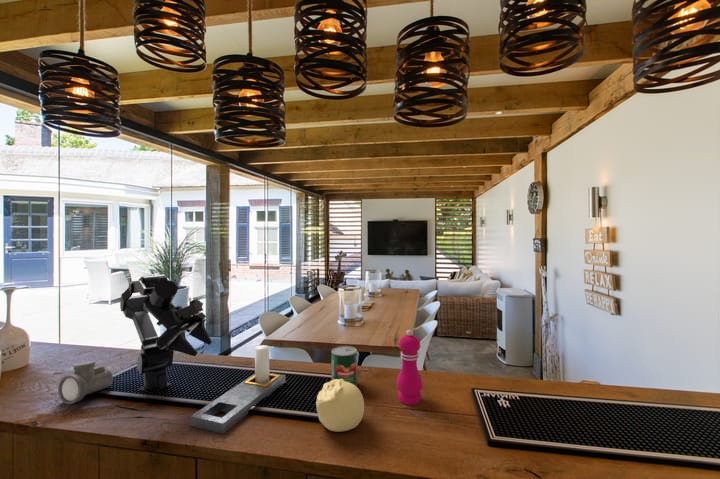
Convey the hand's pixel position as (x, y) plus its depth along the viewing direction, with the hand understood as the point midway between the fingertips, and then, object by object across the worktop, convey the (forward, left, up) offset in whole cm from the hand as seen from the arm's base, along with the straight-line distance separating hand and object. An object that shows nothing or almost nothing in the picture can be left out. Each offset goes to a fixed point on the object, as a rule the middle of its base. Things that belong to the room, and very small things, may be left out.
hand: (203, 349), depth 102 cm
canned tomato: (+35, +22, -14) cm, 44 cm away
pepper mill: (+56, +22, -14) cm, 62 cm away
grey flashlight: (-31, -15, -14) cm, 37 cm away
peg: (+13, +10, -14) cm, 21 cm away
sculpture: (+44, +3, -14) cm, 46 cm away
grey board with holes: (+14, +1, -14) cm, 19 cm away
